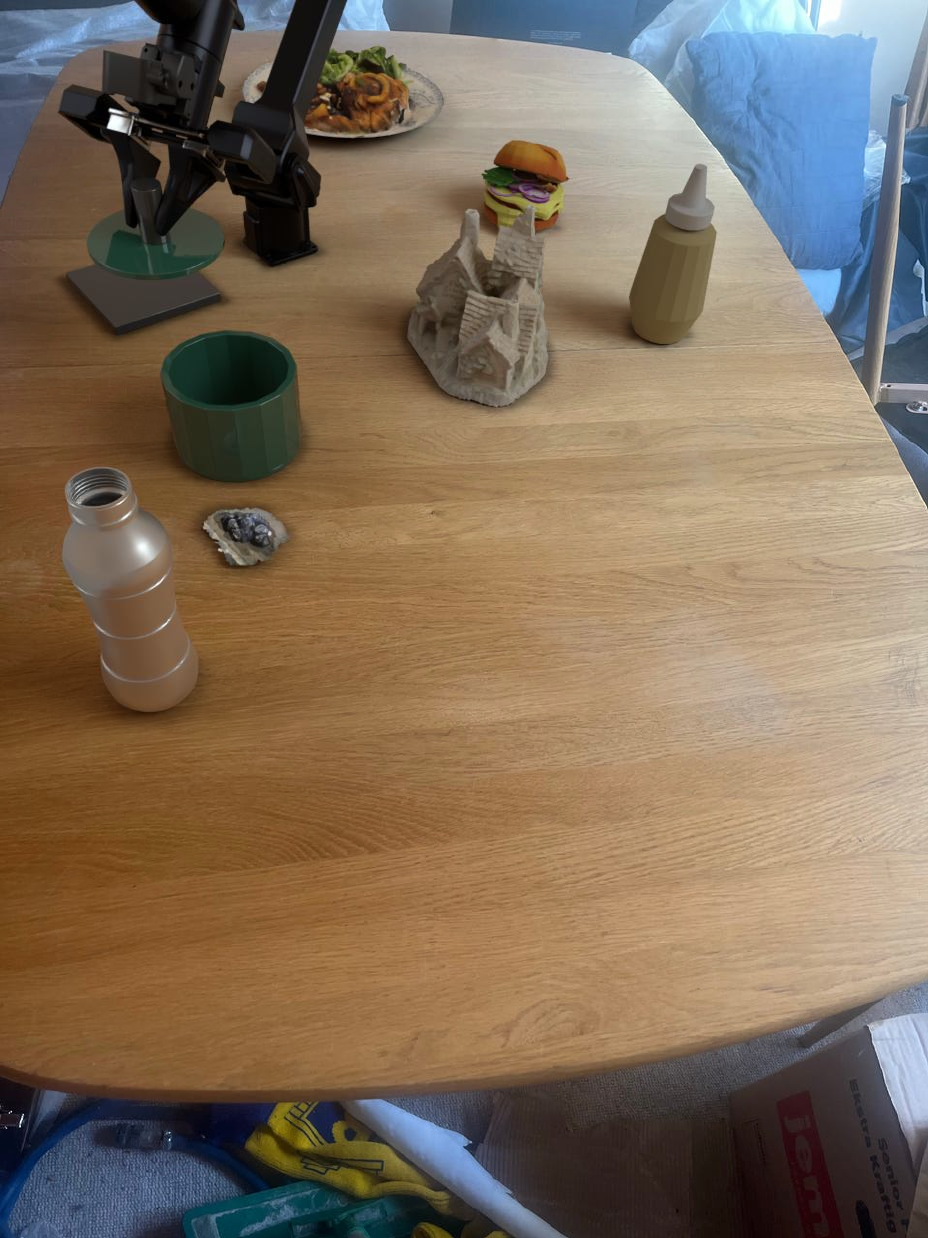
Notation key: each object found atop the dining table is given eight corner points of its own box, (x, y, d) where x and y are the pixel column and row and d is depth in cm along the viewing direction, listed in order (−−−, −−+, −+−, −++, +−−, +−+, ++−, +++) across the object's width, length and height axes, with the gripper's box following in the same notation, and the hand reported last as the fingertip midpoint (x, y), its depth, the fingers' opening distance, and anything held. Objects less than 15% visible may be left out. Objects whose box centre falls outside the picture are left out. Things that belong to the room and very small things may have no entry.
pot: (188, 398, 93) (174, 326, 86) (307, 405, 93) (302, 333, 87) (165, 479, 85) (148, 406, 79) (294, 485, 86) (288, 413, 80)
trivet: (168, 250, 109) (167, 242, 108) (221, 300, 103) (220, 292, 103) (67, 280, 104) (64, 272, 103) (117, 335, 98) (115, 327, 97)
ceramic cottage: (436, 291, 107) (444, 161, 95) (571, 342, 104) (597, 214, 91) (366, 371, 98) (365, 239, 86) (510, 429, 95) (531, 301, 83)
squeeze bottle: (703, 322, 107) (752, 160, 93) (683, 360, 102) (731, 195, 88) (635, 301, 109) (673, 139, 95) (612, 337, 104) (648, 172, 90)
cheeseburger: (464, 226, 117) (477, 137, 111) (493, 210, 125) (506, 126, 119) (543, 246, 115) (560, 156, 109) (567, 228, 123) (584, 144, 117)
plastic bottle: (116, 653, 73) (47, 450, 57) (207, 651, 73) (163, 450, 58) (103, 725, 69) (24, 527, 53) (200, 722, 69) (150, 525, 54)
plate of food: (360, 54, 148) (360, 9, 143) (483, 121, 136) (487, 75, 131) (204, 96, 135) (198, 48, 130) (325, 174, 123) (323, 125, 118)
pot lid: (137, 204, 94) (123, 140, 89) (249, 234, 92) (241, 170, 87) (61, 265, 86) (43, 198, 81) (182, 299, 84) (170, 233, 79)
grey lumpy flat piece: (253, 581, 78) (251, 565, 77) (179, 540, 81) (175, 524, 79) (305, 533, 82) (303, 517, 81) (232, 495, 85) (230, 479, 83)
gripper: (40, -22, 78) (-5, 171, 80) (246, 24, 75) (194, 224, 77) (116, 49, 89) (74, 218, 91) (298, 93, 86) (252, 266, 88)
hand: (144, 230), depth 86 cm, fingers closed on pot lid, 3 cm apart
